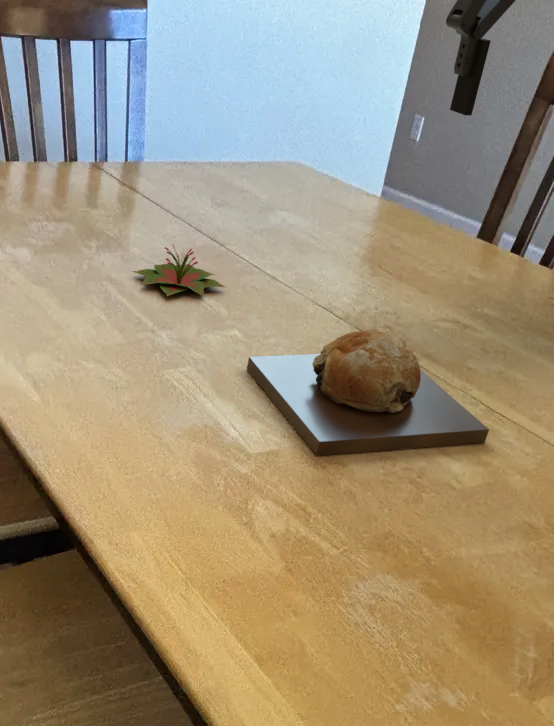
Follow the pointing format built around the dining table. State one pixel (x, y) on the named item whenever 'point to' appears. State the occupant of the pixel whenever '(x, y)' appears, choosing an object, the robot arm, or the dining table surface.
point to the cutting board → (361, 412)
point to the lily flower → (178, 276)
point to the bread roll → (368, 371)
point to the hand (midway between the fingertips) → (517, 113)
